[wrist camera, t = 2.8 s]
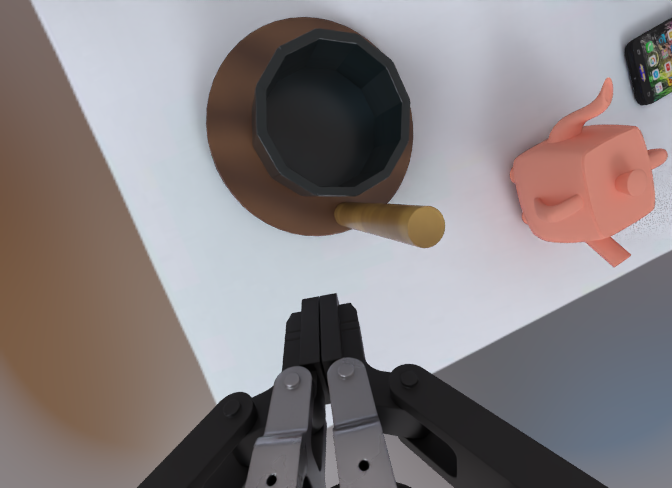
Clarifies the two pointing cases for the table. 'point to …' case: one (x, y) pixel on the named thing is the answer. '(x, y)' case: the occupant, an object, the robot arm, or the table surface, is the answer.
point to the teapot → (587, 180)
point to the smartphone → (651, 63)
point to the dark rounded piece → (316, 133)
